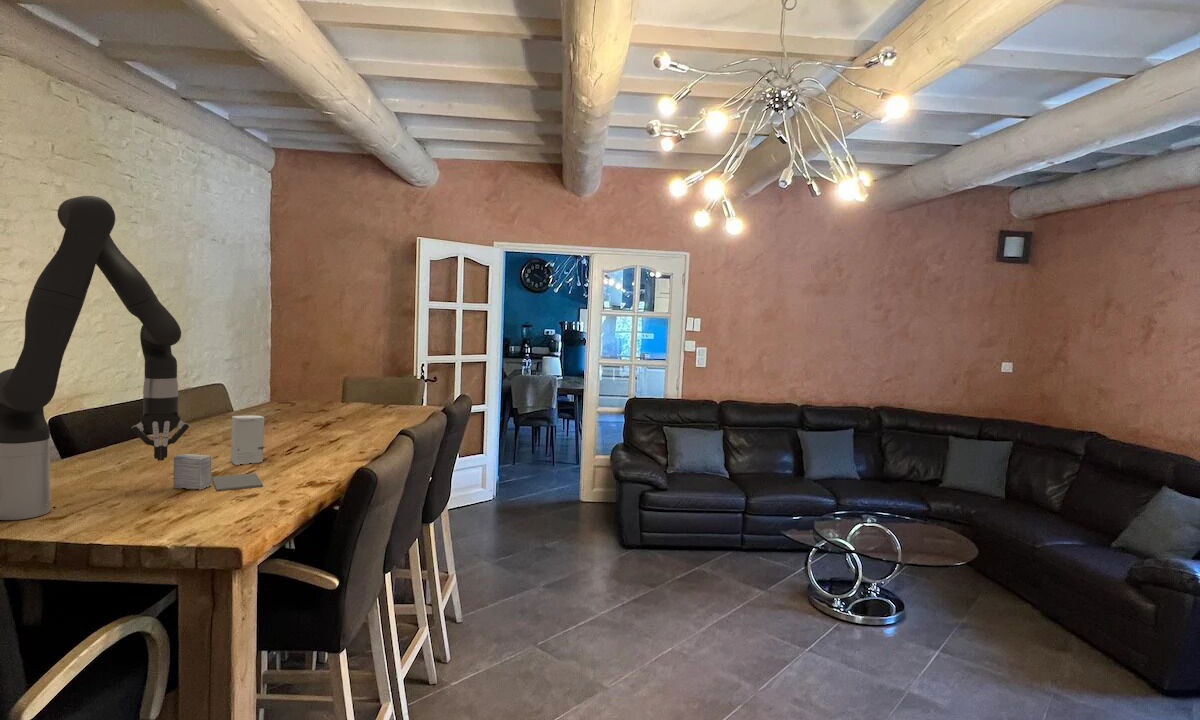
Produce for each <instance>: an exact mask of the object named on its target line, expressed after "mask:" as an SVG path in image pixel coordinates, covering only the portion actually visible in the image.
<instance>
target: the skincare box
mask: <svg viewBox="0 0 1200 720" xmlns="http://www.w3.org/2000/svg"><path fill="white" fill-rule="evenodd" d="M264 433H265V416H262V415H260V414H259V415H258V414H257V415H256V414H255V415H250V414H249V415H248V414H247V415H232V416H231V435H230V438H231V439H230V440H231V441H230V463H231V464H233V465H234V464H235V465H234V466H241V465H240V464H243V465H250V464H249V463H252V464H260V462H262V463H263V462H264V461H263V458H264V457H263V455H264V438H265V436H264Z"/></svg>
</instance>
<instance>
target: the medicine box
mask: <svg viewBox="0 0 1200 720" xmlns="http://www.w3.org/2000/svg"><path fill="white" fill-rule="evenodd" d="M209 486H210V487H212V455H209V454H208V455H207V454H195V453H183V454H179V455H176V456H174V457H173V489H182V488H186V490H195V489H199V490H200V491H202V490H204V488H205V489H207V488H209ZM206 487H207V488H206ZM201 489H202V490H201ZM199 490H198V491H199Z"/></svg>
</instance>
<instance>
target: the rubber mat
mask: <svg viewBox="0 0 1200 720" xmlns="http://www.w3.org/2000/svg"><path fill="white" fill-rule="evenodd" d="M212 480H213V481H212ZM211 481H212V483H214V484H213V487H214V488H216V489H215V491H216V492H220V491H219V490H226V491H232V490H231V489H235V490H243V488H245V489H253V488H254V487H255V488H263V487H264V484H263V483H262V481H261V480H260V478H259V477H258V474H257V473H255V472H254V473H241V474H233V475H232V474H230V475H220V476H211Z"/></svg>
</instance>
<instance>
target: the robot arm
mask: <svg viewBox="0 0 1200 720" xmlns="http://www.w3.org/2000/svg"><path fill="white" fill-rule="evenodd" d="M57 219H58V222H59V223H60V224H61V226H62V227H63V228H64V233H63V237H62V240H61V242H60V245H59V247H58V249H57V250H56V253H55V254H54V255H53V256H52V258H51V259H50V261H48V263H47V264H46V266H45V267H44V269H43V270H42V272H41V274H39V276H38V278H37V280H36V281H35V284H34V286H33V289H32V292H31V293H30V297H29V299H28V301H27V304H26V305H27V306H26V311H25V317H24V343H23V347H22V350H21V352H20V355H19V357H18V360H17V362H16V364H15V366H14V368H9V369H6V370H3V371H1V372H0V521H17V520H26V519H32V518H36V517H40V516H44V515H47V514H48V513H50V512H51V437H50V436H51V429H50V426H49V425H48V422H47V421H46V417H45V413H44V407H46V406H47V405H48V404H49V403H50V402H51V401H52V399H53V397H54V396H55V392H56V389H57V385H58V381H59V375H60V369H61V366H62V362H63V358H64V355H65V352H66V350H67V347H68V345H69V342H70V340H71V337H72V335H73V332H74V330H75V326H76V324H77V321H78V320H79V317H80V314H81V311H82V308H83V306H84V303H85V300H86V298H87V297H86V296H87V294H88V290H89V286H90V284H91V282H92V278H93V275H94V271H95V268H96V267H98V269H99V270H100V272H101V273H102V274H103V275H104V277H105V278H106V280H107V281H108V283H109V284H110V286H111V287H112V288H113V290H114V292H115V293H116V294H117V296H118V298H119V299H120V301H121V302H122V304H123V305H124V307H125V308H126V309H127V311H128V312H129V313H130V314H131V316H132V315H133V316H134V317H136V318H137V319H138V320H139V321H140V323H141V324H142V325H141V328H140V334H139V338H140V346H141V350H142V354H143V355H142V356H143V358H144V377H143V378H144V379H143V380H144V381H143V387H142V388H143V389H142V394H143V396H142V399H143V400H142V402H143V403H142V405H143V407H142V408H143V410H142V416H141V419H140V421H139V422H138V423H137V424H134V425H132V426H131V432H132V433H134V434H135V435H136V436H137V437H138V438H139V439H140V440H141V441H142V442H144V443H145V445H147V446H152V447H153V457H154V459H155V460H157V462H159V461H165V459H167V457H168V446H169V445H172V444H175V443H177V441H178V440H179V439H180V438H181V437H182V435H184V434H185V433H186V431H187V430H188V429H189V428H190V426H189V425H190V424H189V423H187V422H185V421H183V420H181V417H180V414H179V383H178V362H177V359H176V357H175V356H174V355H173V353H172V346H174V345H176V344H178V342H179V341H180V340H181V338H182V330H181V327H180V325H179V322H178V321H177V320H176V319H175V317H174V316H173V315H172V314H171V313H170V312H169V310H168V309H167V308H166V306H164V304H162V303H161V302H160V300H159V298H158V296H157V295H156V294H155V292H154V290H153V289H152V287H151V285H150V284H149V282H148V280H147V279H146V278H145V277H144V276H143V274H142V273H141V271H140V270H139V269H137V267H136V266H135V265H134V264H133V263H132V262H131V261H130V260H129V259H128V258H127V257H126V256H125V255H124V254H123V252H121V250H120V249H119V248H118V246H117V245H116V244H115V241H114V240H113V238H112V237H111V233H112V231H113V229H114V226H115V224H116V213H115V210H114V208H113V207H112V205H111V204H110V203H109V202H108V201H107V200H105V199H104V198H101V197H99V196H96V195H81V196H76V197H73V198H68V199H66V200H64V201H63V202H62V203H61V204H59V206H58V209H57ZM176 426H177V431H176V432H175V433H174V434H173V435H172V436H171V437H170V438H169V434H170V433H171V432H172V431H173V430H174V429H175V428H176ZM144 427H145V429H146V430H147V431H148V432H149V433H151V434H152V436H153V439H151V438H150V437H149V436H147V434H146V433H145V432H144ZM160 434H162V439H161V443H160Z"/></svg>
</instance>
